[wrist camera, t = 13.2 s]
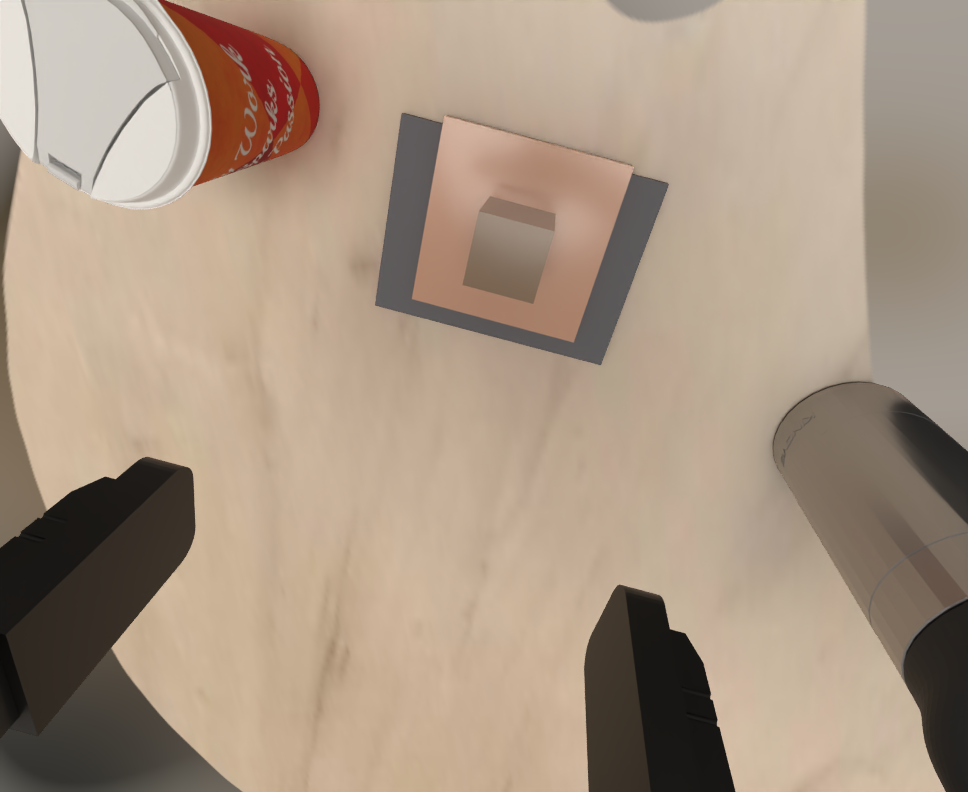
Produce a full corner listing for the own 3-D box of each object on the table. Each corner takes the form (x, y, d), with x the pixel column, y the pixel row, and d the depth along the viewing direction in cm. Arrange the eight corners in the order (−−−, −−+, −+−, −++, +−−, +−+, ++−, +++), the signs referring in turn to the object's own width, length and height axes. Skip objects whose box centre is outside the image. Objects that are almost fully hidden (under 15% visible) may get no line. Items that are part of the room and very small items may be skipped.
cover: (632, 165, 31) (646, 177, 26) (573, 336, 37) (575, 375, 32) (447, 115, 31) (424, 118, 26) (415, 294, 37) (391, 326, 32)
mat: (667, 183, 32) (668, 184, 32) (600, 361, 38) (600, 365, 38) (404, 113, 32) (401, 113, 32) (377, 302, 38) (375, 305, 38)
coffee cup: (305, 198, 35) (154, 256, 22) (187, 120, 34) (-48, 132, 21) (363, 72, 31) (221, 51, 18) (233, -23, 30) (-20, -118, 17)
